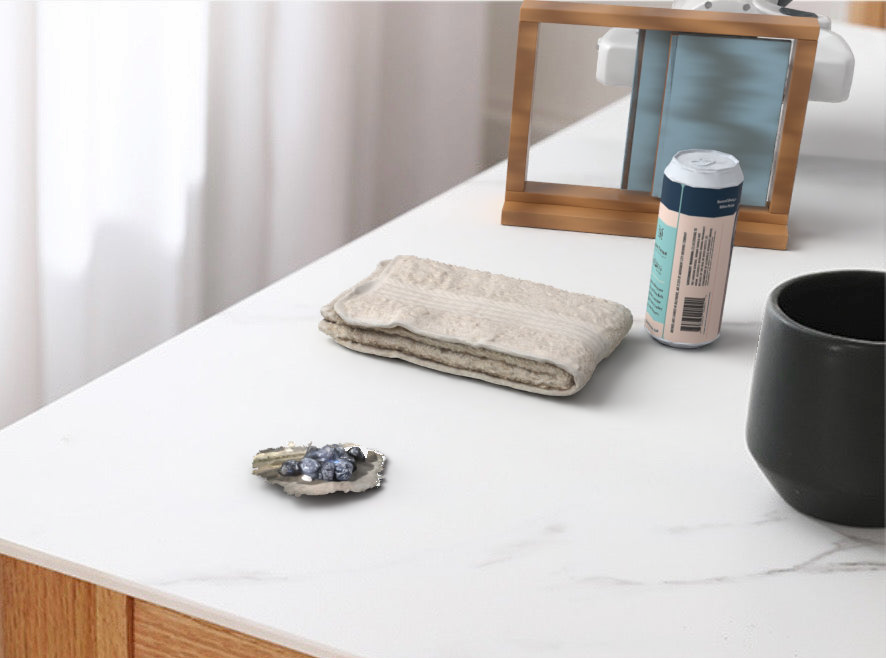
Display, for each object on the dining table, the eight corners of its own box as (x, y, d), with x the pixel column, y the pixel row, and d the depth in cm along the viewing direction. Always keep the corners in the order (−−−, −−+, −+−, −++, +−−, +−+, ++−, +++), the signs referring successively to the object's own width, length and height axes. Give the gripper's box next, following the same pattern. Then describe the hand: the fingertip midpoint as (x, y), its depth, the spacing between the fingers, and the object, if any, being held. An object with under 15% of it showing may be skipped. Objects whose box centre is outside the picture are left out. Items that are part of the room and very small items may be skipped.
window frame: (781, 217, 121) (815, 10, 114) (786, 250, 115) (822, 33, 108) (509, 194, 125) (526, -8, 118) (500, 224, 119) (517, 14, 112)
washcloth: (386, 282, 109) (388, 240, 108) (637, 335, 102) (643, 292, 100) (308, 345, 100) (308, 300, 98) (578, 409, 92) (583, 362, 91)
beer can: (733, 337, 102) (761, 160, 96) (691, 359, 99) (718, 177, 93) (670, 315, 105) (694, 141, 99) (628, 335, 102) (650, 157, 96)
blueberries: (226, 472, 85) (226, 441, 84) (333, 427, 90) (334, 398, 89) (310, 521, 81) (311, 490, 80) (418, 471, 85) (420, 441, 85)
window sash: (731, 177, 123) (755, 19, 117) (733, 199, 118) (757, 35, 113) (622, 168, 124) (640, 11, 119) (620, 189, 120) (638, 27, 114)
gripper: (601, 1, 135) (593, 40, 123) (849, 17, 131) (866, 59, 119) (594, 73, 138) (585, 118, 126) (836, 90, 134) (851, 139, 122)
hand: (724, 89), depth 122 cm, fingers open, 8 cm apart
